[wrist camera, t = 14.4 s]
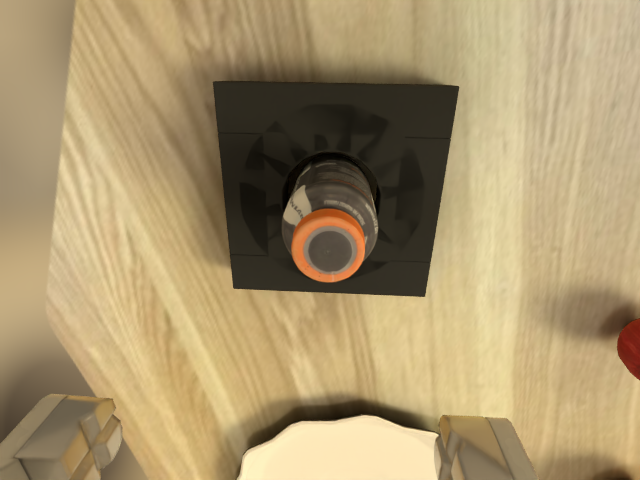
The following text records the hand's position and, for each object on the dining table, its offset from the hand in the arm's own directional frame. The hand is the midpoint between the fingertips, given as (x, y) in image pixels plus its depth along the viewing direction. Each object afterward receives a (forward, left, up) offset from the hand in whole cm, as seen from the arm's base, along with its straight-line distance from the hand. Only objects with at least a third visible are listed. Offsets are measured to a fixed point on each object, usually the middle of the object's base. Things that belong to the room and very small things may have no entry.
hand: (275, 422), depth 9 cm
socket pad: (+1, +1, -22) cm, 22 cm away
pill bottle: (+1, +1, -22) cm, 22 cm away
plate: (+39, +5, -22) cm, 45 cm away
